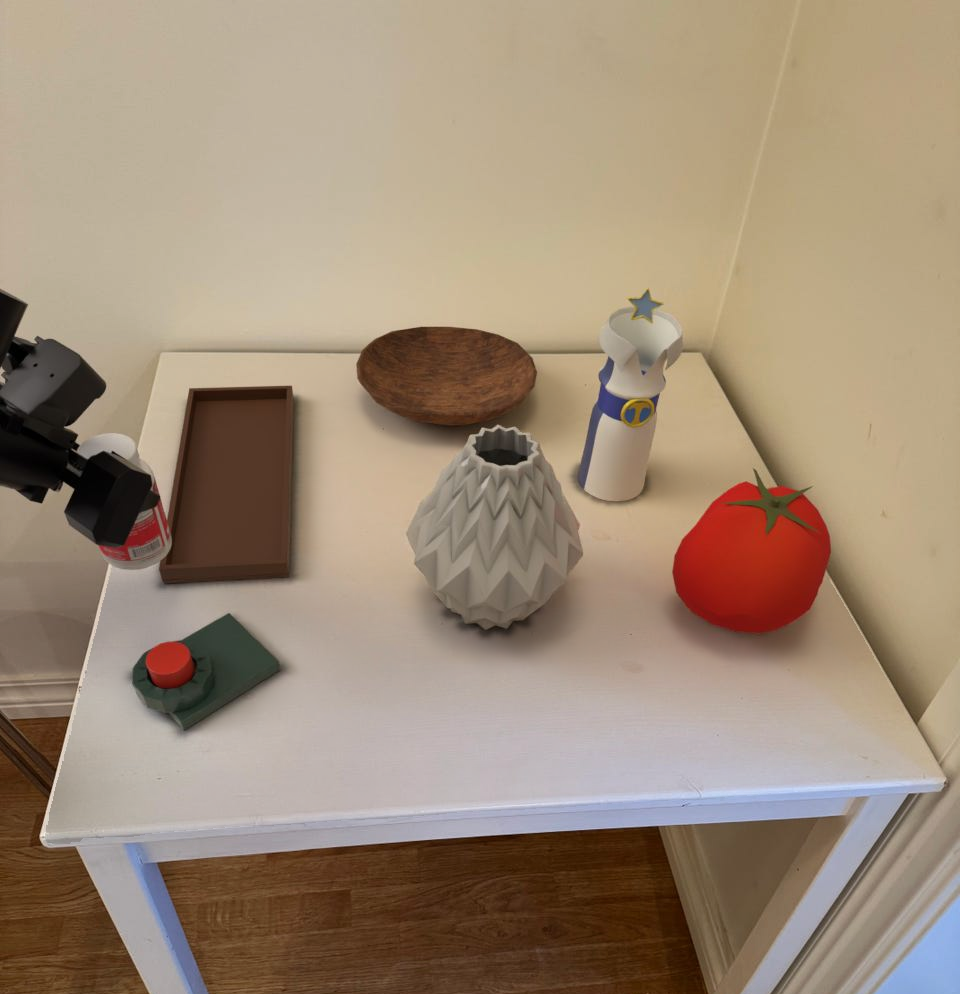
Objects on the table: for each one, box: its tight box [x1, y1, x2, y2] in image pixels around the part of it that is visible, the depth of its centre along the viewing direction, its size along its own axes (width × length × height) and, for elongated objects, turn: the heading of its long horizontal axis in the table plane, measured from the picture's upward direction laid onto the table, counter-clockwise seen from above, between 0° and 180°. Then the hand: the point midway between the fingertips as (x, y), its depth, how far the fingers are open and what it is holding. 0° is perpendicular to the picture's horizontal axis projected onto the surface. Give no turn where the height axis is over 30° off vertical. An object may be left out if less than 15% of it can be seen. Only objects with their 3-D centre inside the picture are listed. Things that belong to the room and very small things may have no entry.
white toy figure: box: [577, 287, 684, 502], centre depth 89 cm, size 8×9×25 cm
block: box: [132, 612, 281, 731], centre depth 76 cm, size 11×8×3 cm
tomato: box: [671, 467, 832, 635], centre depth 81 cm, size 16×14×14 cm
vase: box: [405, 424, 584, 631], centre depth 78 cm, size 16×16×18 cm
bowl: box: [355, 326, 538, 426], centre depth 106 cm, size 20×22×5 cm
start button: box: [146, 641, 195, 689], centre depth 73 cm, size 4×4×2 cm
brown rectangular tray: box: [158, 385, 295, 585], centre depth 94 cm, size 31×12×2 cm, turn 7°
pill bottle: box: [77, 432, 172, 571], centre depth 74 cm, size 6×6×11 cm
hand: (133, 485), depth 74 cm, fingers closed on pill bottle, 6 cm apart
